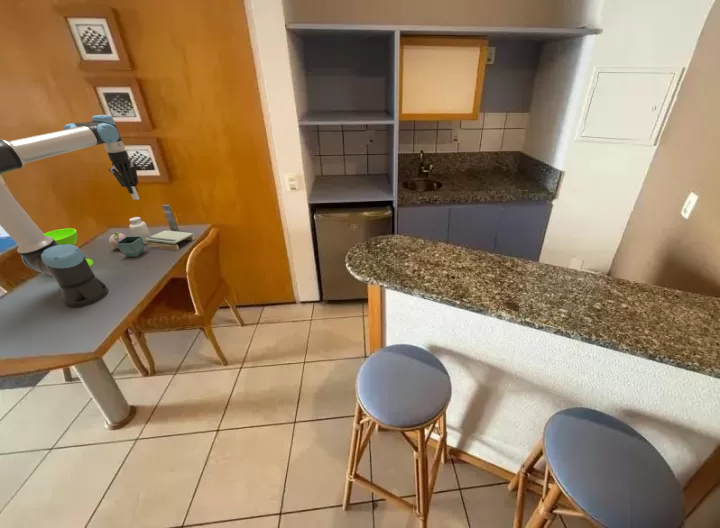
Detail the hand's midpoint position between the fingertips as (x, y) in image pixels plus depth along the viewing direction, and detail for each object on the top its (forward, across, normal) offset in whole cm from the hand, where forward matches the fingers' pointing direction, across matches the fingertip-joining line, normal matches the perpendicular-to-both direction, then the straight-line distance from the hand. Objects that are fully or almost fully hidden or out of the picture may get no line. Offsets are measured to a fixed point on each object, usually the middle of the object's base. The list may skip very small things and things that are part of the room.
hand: (136, 199), depth 158 cm
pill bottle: (+29, +4, +13) cm, 32 cm away
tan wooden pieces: (+28, +10, -4) cm, 30 cm away
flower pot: (+29, -9, +5) cm, 30 cm away
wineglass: (+29, -27, +25) cm, 47 cm away
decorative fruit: (+29, -5, +19) cm, 35 cm away
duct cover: (+25, +7, -4) cm, 26 cm away
